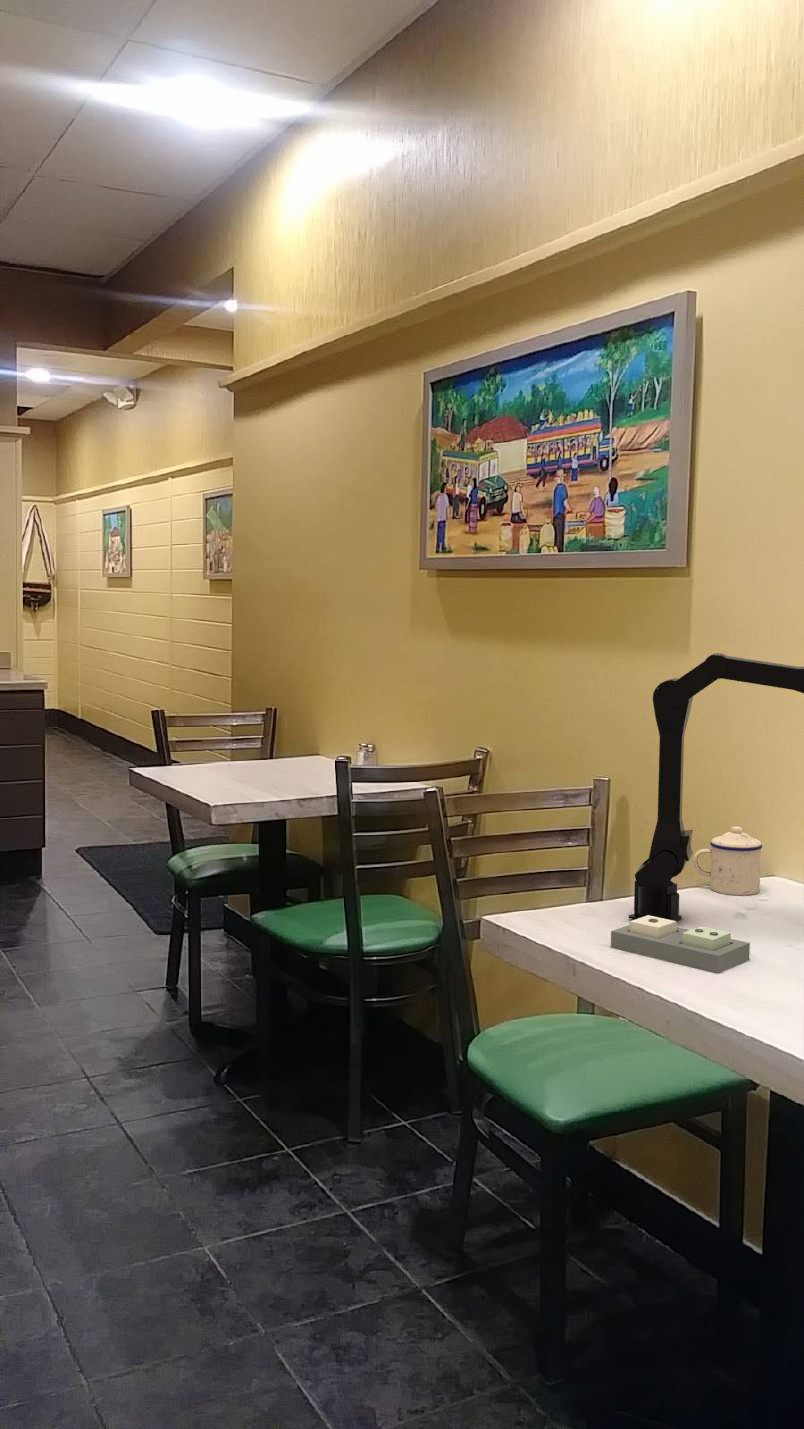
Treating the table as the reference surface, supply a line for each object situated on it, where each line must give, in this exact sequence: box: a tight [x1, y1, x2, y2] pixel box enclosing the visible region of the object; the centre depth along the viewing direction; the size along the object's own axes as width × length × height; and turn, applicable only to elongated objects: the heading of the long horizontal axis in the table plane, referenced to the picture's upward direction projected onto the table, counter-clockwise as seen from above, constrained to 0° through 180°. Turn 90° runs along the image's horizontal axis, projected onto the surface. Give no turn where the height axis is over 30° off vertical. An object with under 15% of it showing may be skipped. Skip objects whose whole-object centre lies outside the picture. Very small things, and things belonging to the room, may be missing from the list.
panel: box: [610, 924, 751, 974], centre depth 172 cm, size 18×9×2 cm, turn 45°
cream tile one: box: [629, 915, 678, 939], centre depth 175 cm, size 5×5×2 cm
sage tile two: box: [682, 926, 732, 951], centre depth 169 cm, size 5×5×2 cm
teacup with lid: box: [693, 826, 763, 896], centre depth 212 cm, size 12×9×12 cm
